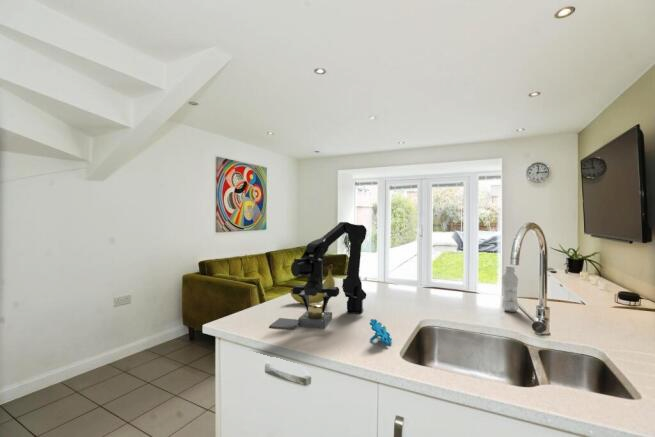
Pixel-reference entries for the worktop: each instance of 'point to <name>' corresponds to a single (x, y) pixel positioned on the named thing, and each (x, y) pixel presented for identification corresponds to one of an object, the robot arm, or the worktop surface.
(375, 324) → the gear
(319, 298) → the banana
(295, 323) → the mat
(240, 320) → the worktop surface
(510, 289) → the plastic bottle
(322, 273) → the robot arm
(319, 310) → the end cover
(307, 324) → the housing
